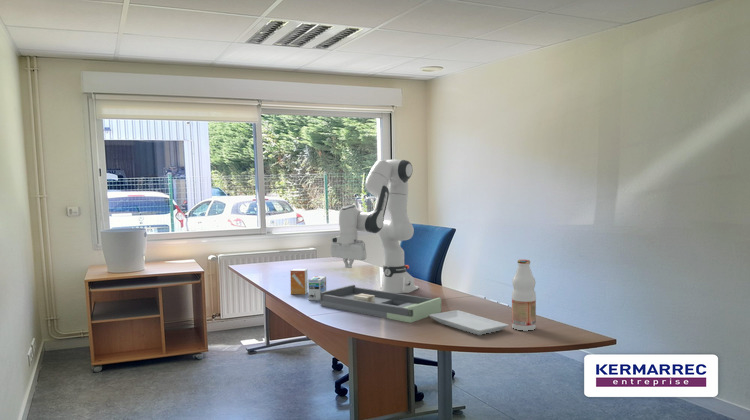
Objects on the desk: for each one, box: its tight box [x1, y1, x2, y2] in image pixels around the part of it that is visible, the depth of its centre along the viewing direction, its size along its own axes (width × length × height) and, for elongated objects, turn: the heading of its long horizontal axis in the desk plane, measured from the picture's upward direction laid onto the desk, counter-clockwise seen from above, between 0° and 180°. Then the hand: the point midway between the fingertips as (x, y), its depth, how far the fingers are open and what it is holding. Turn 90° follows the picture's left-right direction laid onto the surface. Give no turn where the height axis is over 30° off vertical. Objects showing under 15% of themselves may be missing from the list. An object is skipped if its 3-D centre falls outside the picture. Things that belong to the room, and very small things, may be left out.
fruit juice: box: [511, 259, 537, 332], centre depth 227 cm, size 9×9×28 cm
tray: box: [428, 309, 510, 336], centre depth 232 cm, size 17×32×4 cm, turn 33°
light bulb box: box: [308, 275, 327, 302], centre depth 289 cm, size 11×7×11 cm, turn 168°
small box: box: [290, 268, 309, 296], centre depth 302 cm, size 8×6×13 cm
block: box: [354, 294, 375, 303], centre depth 264 cm, size 6×8×4 cm
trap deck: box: [320, 284, 442, 323], centre depth 265 cm, size 24×54×6 cm, turn 51°
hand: (348, 267), depth 269 cm, fingers closed
